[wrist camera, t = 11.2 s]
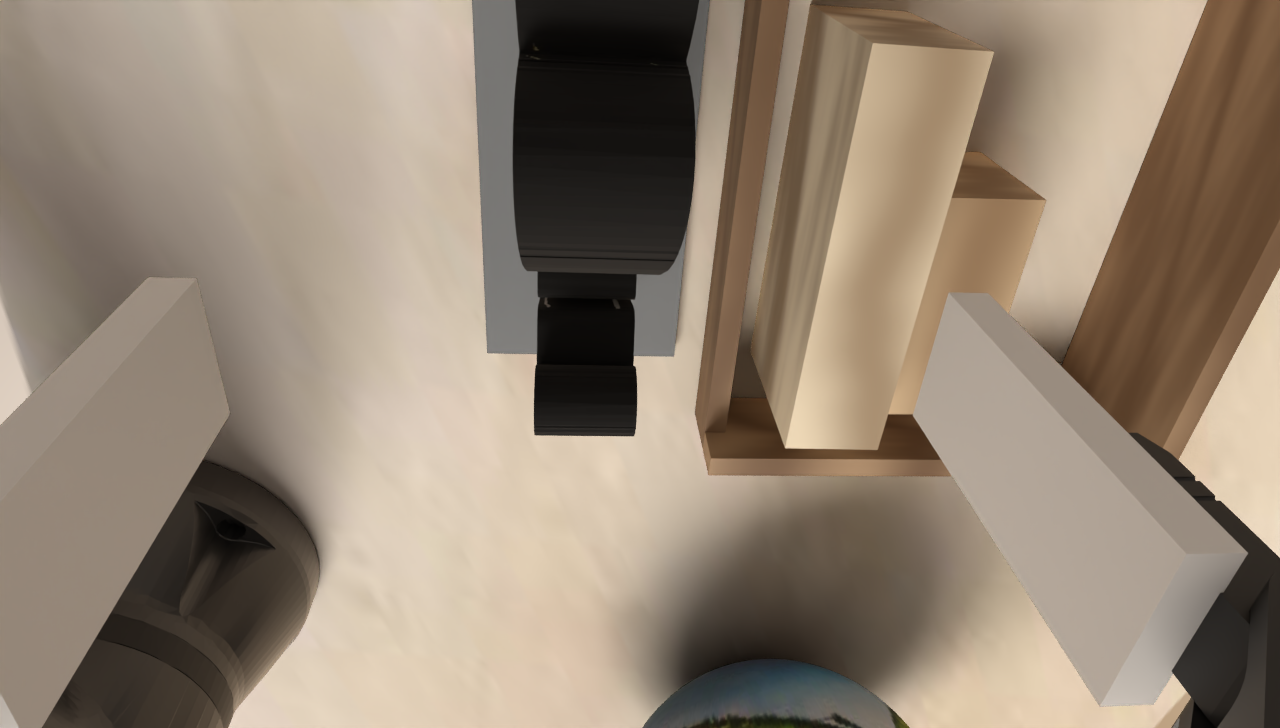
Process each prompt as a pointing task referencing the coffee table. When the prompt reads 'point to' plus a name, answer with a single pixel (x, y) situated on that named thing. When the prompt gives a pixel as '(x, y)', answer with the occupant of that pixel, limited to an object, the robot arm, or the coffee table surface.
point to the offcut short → (971, 257)
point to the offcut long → (859, 216)
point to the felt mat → (504, 274)
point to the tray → (1125, 287)
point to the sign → (598, 190)
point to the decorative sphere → (773, 699)
